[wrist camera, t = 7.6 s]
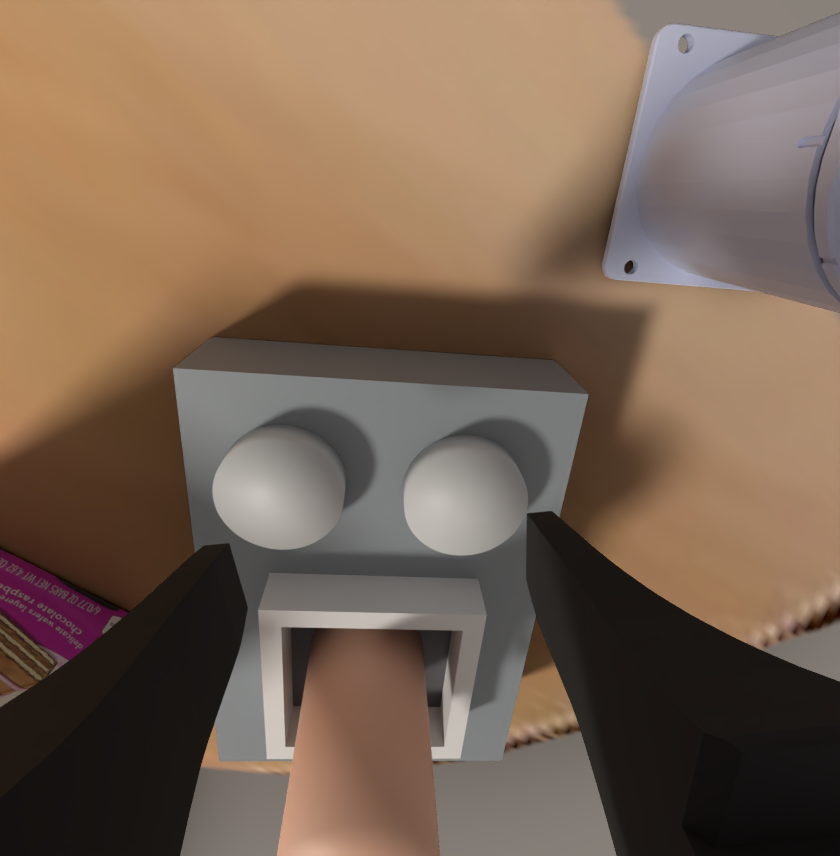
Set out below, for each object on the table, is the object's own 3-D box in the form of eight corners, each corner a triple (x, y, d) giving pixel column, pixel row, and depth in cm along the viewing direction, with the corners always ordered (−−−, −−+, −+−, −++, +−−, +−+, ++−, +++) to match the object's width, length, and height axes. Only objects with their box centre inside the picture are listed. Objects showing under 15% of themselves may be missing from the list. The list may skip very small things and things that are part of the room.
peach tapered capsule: (390, 589, 21) (392, 804, 14) (458, 687, 23) (491, 908, 16) (289, 634, 21) (240, 860, 14) (367, 723, 24) (360, 952, 17)
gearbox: (554, 360, 21) (611, 417, 16) (487, 691, 30) (510, 802, 24) (211, 337, 20) (146, 389, 15) (240, 688, 28) (206, 806, 23)
